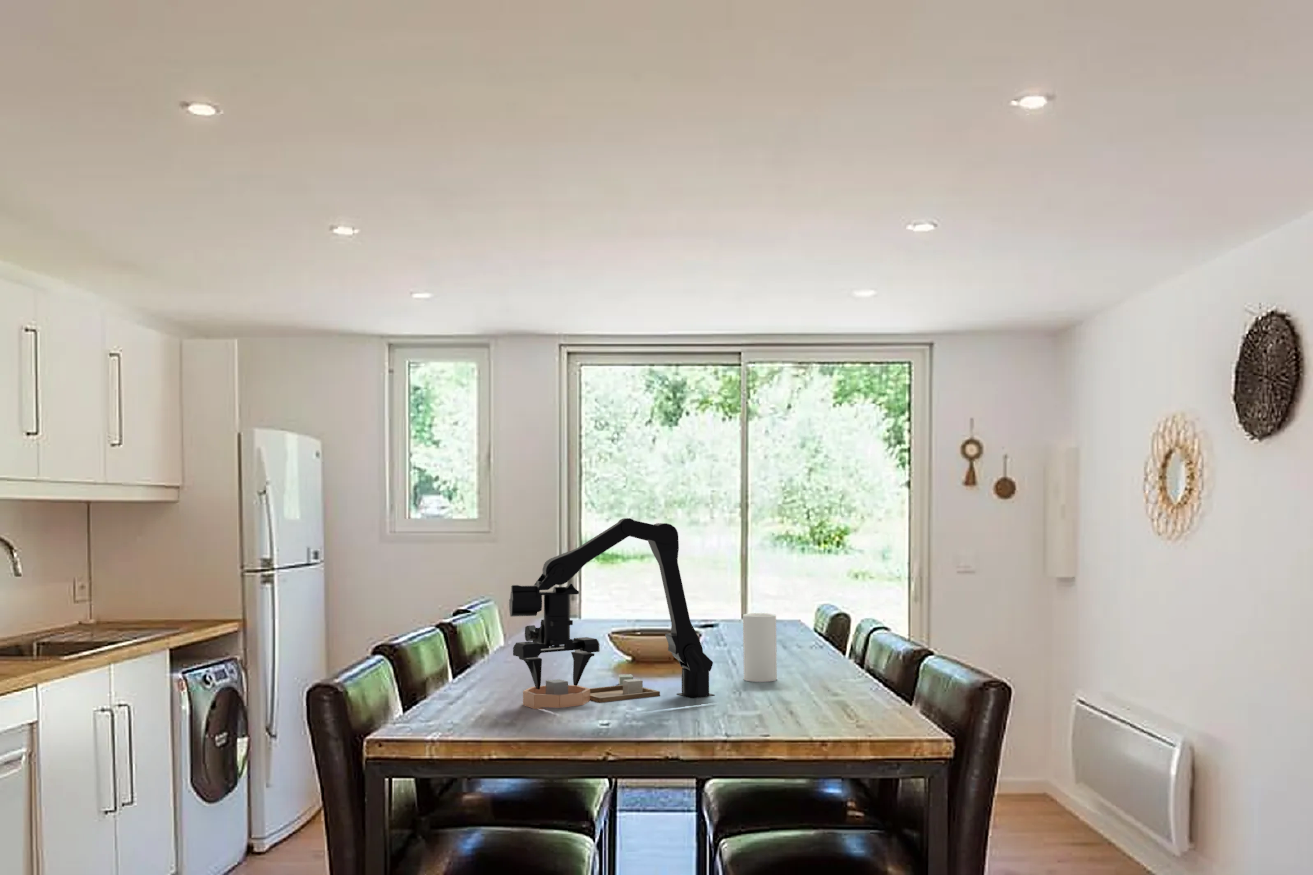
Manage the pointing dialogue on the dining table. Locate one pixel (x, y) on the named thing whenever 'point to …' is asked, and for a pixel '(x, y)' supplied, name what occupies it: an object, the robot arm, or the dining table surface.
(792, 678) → the dining table surface
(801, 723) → the dining table surface
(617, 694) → the tray
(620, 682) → the pale green block
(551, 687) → the grey block
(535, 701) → the dish
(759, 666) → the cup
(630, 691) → the grey small block
